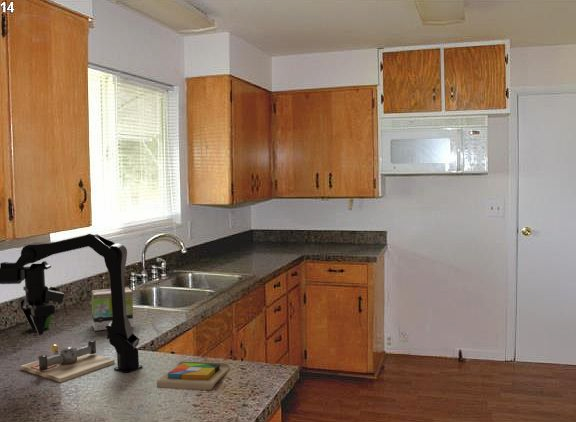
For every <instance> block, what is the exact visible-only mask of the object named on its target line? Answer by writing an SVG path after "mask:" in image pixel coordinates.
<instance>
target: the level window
mask: <svg viewBox="0 0 576 422" xmlns="http://www.w3.org/2000/svg"><path fill="white" fill-rule="evenodd" d="M38 366H39V364H38V365H35V366H31V368H33V369H36V370H39V368H37V367H38ZM55 366H57V365H56V364H55V365H52V366H49V367H48V369H49V368H52V367H55ZM39 371H43V370H39Z"/></svg>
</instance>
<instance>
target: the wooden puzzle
mask: <svg viewBox="0 0 576 422" xmlns="http://www.w3.org/2000/svg"><path fill="white" fill-rule="evenodd" d="M230 369H231V368H230V364H229V363H228V362H215V361H214V362H213V361H212V362H211V361H189V360H188V361H186V360H185V361H184V360H182V361H179V362H178V363H177V365H175V367H174V368H172V369H171V370H169V371H168V372H167V373H165V374H164V375H162V376H161V377H160V378H159V379H157V381H156V386H157V387H158V388H165V389H183V390H202V391H204V390H205V391H211V390H212V389H213V388H215V387H214V386H215V385H216V384H217V383H218V382H219V381H220V380H221V379H222V378H223V377H224V376H225V375H226V374H227V373H228V372H229V370H230Z"/></svg>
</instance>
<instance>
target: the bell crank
mask: <svg viewBox="0 0 576 422" xmlns="http://www.w3.org/2000/svg"><path fill="white" fill-rule="evenodd" d="M96 342H97V341H96V340H95V339H94V340H93V339H92V340H91V339H90V340H88V341H87V343H88V344H87V345H85V346H82V347H81V346H80V347H78V348H77V347H74V346H71V345H70V346H69V345H68V346H64V347H63V348H62V349H60V347H59V345H58V344H52V345H51V346H50V348H49V351H50V352H51V353H53V355H50V356H48V355H47V354H41V355H38V360H39V370H46V369H48V367H49V366H52V365H55V364H58V363H61V364H72V363H75V362H77V357H80V356H83V355H86V354H95V355H96V354H97V343H96ZM54 355H55V356H54ZM47 357H48V358H47Z"/></svg>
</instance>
